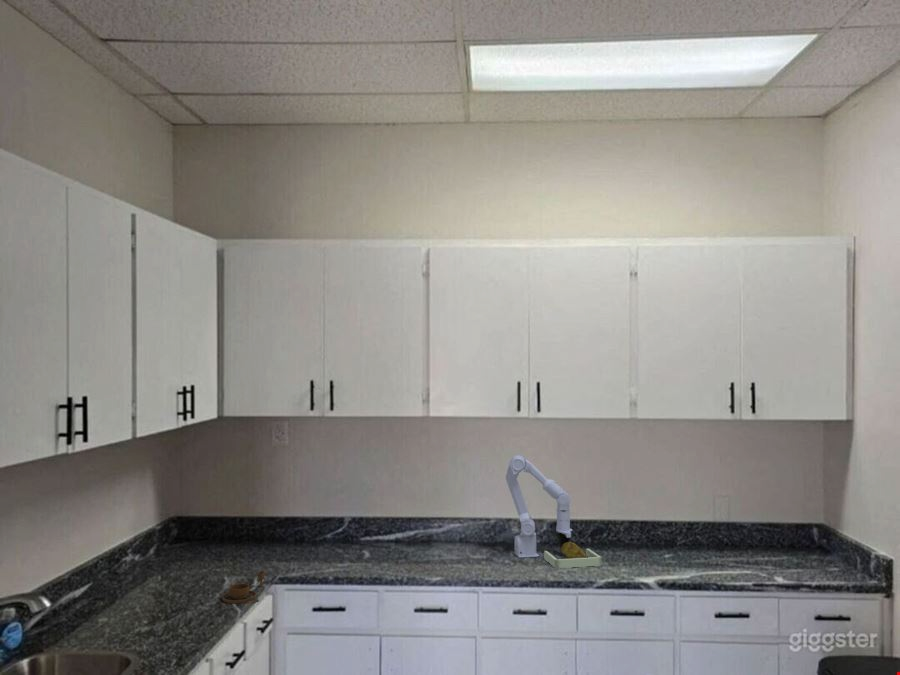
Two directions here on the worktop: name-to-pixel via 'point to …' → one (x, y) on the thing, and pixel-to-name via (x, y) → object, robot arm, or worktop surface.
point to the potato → (572, 551)
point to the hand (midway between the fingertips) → (563, 550)
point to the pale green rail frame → (574, 560)
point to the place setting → (242, 592)
